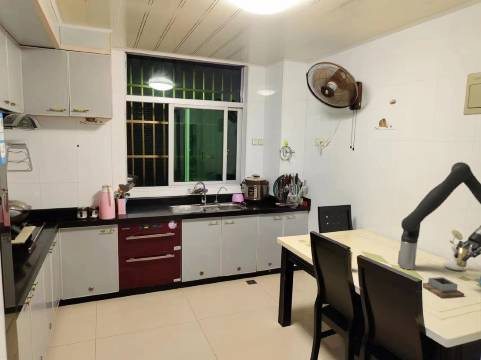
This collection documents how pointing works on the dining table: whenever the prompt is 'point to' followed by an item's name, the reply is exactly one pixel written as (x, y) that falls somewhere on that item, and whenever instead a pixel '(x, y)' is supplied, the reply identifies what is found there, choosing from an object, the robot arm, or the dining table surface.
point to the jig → (442, 287)
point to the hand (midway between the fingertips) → (459, 258)
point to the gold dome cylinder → (461, 256)
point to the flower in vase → (453, 261)
